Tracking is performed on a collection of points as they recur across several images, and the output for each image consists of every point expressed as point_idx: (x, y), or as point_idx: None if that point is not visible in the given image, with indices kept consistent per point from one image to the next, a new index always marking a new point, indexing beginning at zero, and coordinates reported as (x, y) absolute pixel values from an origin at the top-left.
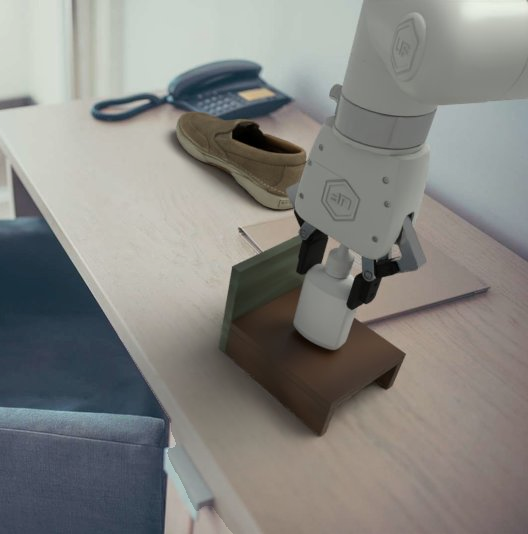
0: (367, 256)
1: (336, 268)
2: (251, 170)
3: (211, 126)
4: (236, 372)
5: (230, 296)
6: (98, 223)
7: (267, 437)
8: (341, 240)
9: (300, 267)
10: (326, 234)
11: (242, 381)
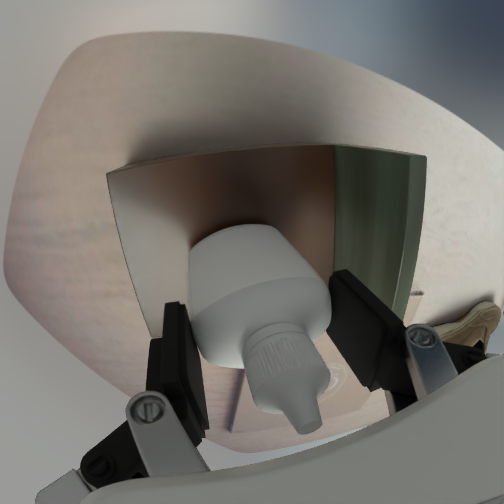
0: (106, 495)
1: (269, 352)
2: (453, 338)
3: (490, 330)
4: (269, 132)
5: (371, 147)
6: (487, 172)
7: (156, 101)
8: (295, 481)
9: (347, 280)
10: (385, 421)
11: (252, 129)
